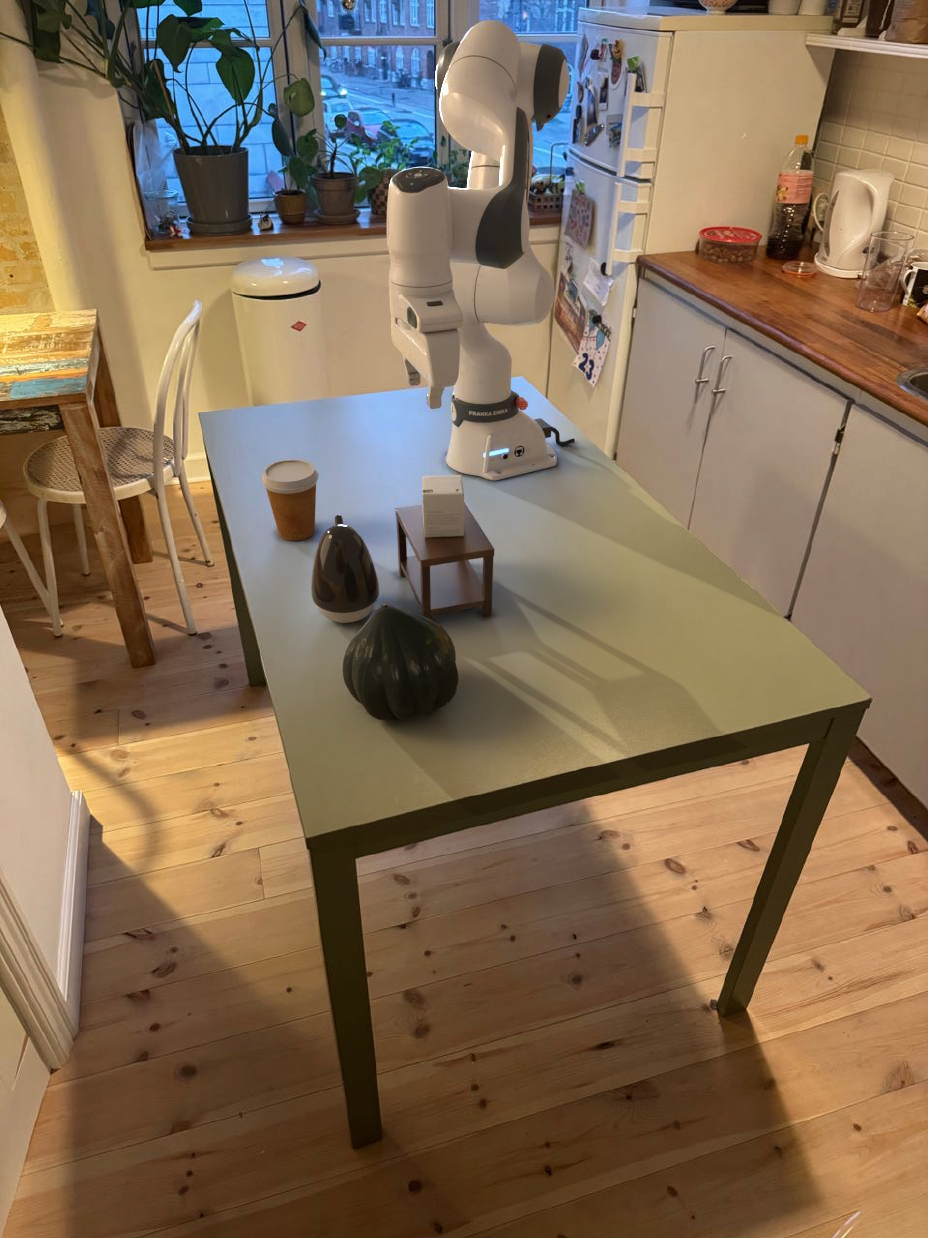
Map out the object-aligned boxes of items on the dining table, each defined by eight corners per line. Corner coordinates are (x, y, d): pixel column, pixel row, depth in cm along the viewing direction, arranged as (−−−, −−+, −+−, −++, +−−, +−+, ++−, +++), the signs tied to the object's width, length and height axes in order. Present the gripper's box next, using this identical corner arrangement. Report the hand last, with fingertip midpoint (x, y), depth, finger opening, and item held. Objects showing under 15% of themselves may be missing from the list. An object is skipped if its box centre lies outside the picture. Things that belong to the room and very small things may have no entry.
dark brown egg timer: (377, 590, 140) (372, 506, 131) (383, 628, 132) (378, 541, 123) (312, 596, 139) (303, 511, 130) (315, 635, 131) (305, 547, 122)
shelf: (462, 562, 147) (462, 498, 140) (492, 615, 135) (494, 548, 128) (398, 572, 145) (395, 508, 138) (423, 628, 132) (421, 560, 125)
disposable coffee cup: (334, 525, 157) (328, 464, 150) (304, 550, 150) (297, 487, 143) (289, 514, 160) (281, 453, 153) (258, 538, 153) (248, 476, 146)
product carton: (462, 517, 135) (462, 473, 131) (464, 537, 130) (464, 493, 126) (422, 518, 135) (421, 474, 131) (423, 538, 130) (422, 493, 126)
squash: (462, 716, 108) (453, 595, 110) (341, 726, 108) (333, 604, 109) (459, 715, 122) (450, 608, 124) (351, 724, 122) (344, 616, 123)
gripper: (378, 282, 129) (383, 373, 138) (422, 324, 114) (425, 424, 122) (419, 278, 131) (421, 368, 139) (468, 318, 116) (467, 417, 124)
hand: (423, 395), depth 131 cm, fingers open, 8 cm apart
